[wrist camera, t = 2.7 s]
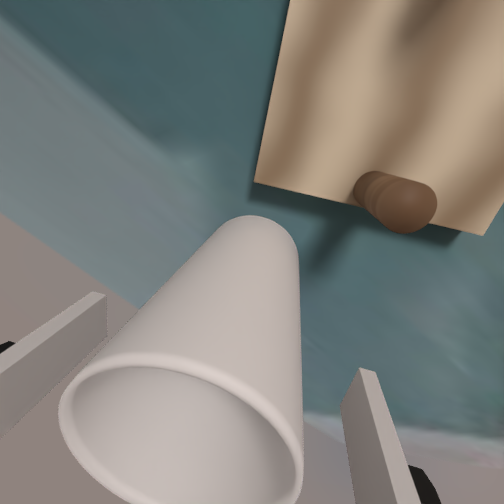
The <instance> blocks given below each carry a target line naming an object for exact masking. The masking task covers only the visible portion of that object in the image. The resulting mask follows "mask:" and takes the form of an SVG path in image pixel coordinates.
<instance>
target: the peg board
mask: <svg viewBox="0 0 504 504" xmlns="http://www.w3.org/2000/svg"><path fill="white" fill-rule="evenodd" d="M254 182H256V183H261V184H265V185H269V186H273V187H278V188H282V189H286V190H291V191H295V192H299V193H303V194H308V195H312V196H316V197H320V198H325V199H329V200H333V201H337V202H342V203H346V204H350V205H354V206H359V207H363V208H365V209H366V210H367V211H368V212H369V213H371V214H372V215H373V216H374V217H375V218H376V219H377V220H379V221H380V222H381V223H382V224H383V225H384V226H386V227H387V228H388V229H389V230H391V231H393V232H396V233H411V232H415V231H417V230H419V229H421V228H423V227H424V226H425V225H427V224H428V223H431V224H435V225H440V226H444V227H448V228H452V229H457V230H461V231H465V232H469V233H474V234H478V235H482V236H483V235H484V233H485V232H486V230H487V228H488V227H489V225H490V223H491V222H492V220H493V218H494V217H495V215H496V214H497V212H498V210H499V209H500V207H501V205H502V204H503V202H504V0H290V4H289V9H288V14H287V19H286V24H285V29H284V34H283V39H282V44H281V49H280V54H279V59H278V64H277V69H276V74H275V79H274V84H273V89H272V94H271V99H270V104H269V108H268V113H267V118H266V123H265V128H264V133H263V138H262V143H261V148H260V153H259V158H258V163H257V168H256V173H255V178H254Z"/></svg>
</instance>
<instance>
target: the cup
mask: <svg viewBox="0 0 504 504" xmlns="http://www.w3.org/2000/svg"><path fill="white" fill-rule="evenodd" d="M58 420H59V426H60V430H61V433H62V436H63V438H64V440H65V442H66V444H67V446H68V448H69V450H70V451H71V453H72V454H73V456H74V457H75V458H76V460H77V461H78V462H79V463H80V465H81V466H82V467H83V468H84V469H85V470H86V471H87V472H88V473H89V474H90V475H91V476H92V477H93V478H94V479H95V480H97V481H98V482H99V483H100V484H101V485H103V486H104V487H105V488H106V489H108V490H109V491H111V492H112V493H114V494H115V495H117V496H118V497H120V498H122V499H123V500H125V501H127V502H128V503H130V504H294V503H295V502H296V500H297V498H298V496H299V494H300V491H301V488H302V482H303V470H304V449H303V448H304V447H303V405H302V366H301V329H300V292H299V257H298V251H297V248H296V245H295V243H294V241H293V239H292V237H291V236H290V235H289V233H288V232H287V231H286V230H285V229H284V228H283V227H282V226H280V225H279V224H277V223H276V222H274V221H272V220H270V219H267V218H264V217H261V216H253V215H247V216H240V217H236V218H233V219H231V220H229V221H227V222H225V223H224V224H223V225H221V226H220V227H219V228H218V229H217V230H216V231H215V232H214V233H213V234H212V235H211V236H210V237H209V238H208V239H207V241H206V242H205V243H204V244H203V245H202V246H201V247H200V248H199V249H198V250H197V251H196V252H195V253H194V254H193V255H192V256H191V257H190V258H189V259H188V260H187V261H186V262H185V263H184V264H183V265H182V266H181V267H180V268H179V269H178V270H177V271H176V272H175V273H174V275H173V276H172V277H171V278H170V279H169V280H168V281H167V282H166V283H165V284H164V285H163V286H162V287H161V288H160V289H159V290H158V291H157V292H156V293H155V294H154V295H153V296H152V297H151V298H150V299H149V300H148V301H147V302H146V303H145V304H144V305H143V306H142V307H141V309H140V310H139V311H138V312H137V313H136V314H135V315H134V316H133V317H132V318H131V319H130V320H129V321H128V322H127V323H126V324H125V325H124V326H123V327H122V328H121V329H120V330H119V331H118V332H117V333H116V334H115V335H114V336H113V338H111V340H110V341H109V342H108V343H107V344H106V345H105V346H104V347H103V348H102V349H101V350H100V351H99V352H98V353H97V354H96V355H95V356H94V357H93V358H92V359H91V360H90V361H89V362H88V363H87V364H86V365H85V366H84V368H83V369H82V370H81V371H80V372H79V373H78V374H77V375H76V377H75V378H74V379H73V380H72V382H71V383H70V384H69V385H68V387H67V388H66V389H65V391H64V393H63V395H62V397H61V400H60V403H59V408H58Z"/></svg>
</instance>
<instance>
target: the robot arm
mask: <svg viewBox="0 0 504 504" xmlns="http://www.w3.org/2000/svg"><path fill="white" fill-rule="evenodd" d="M106 337H107V303H106V295H104V294H101V293H98V292H94V291H92V292H91V293H89V294H88V295H87V296H85V297H84V298H82V299H81V300H79V301H78V302H76V303H75V304H73V305H72V306H70V307H69V308H67V309H66V310H64V311H63V312H61V313H60V314H58V315H57V316H56V317H54V318H53V319H51V320H50V321H48V322H47V323H45V324H44V325H42V326H41V327H39V328H38V329H36V330H35V331H33V332H32V333H30V334H29V335H27V336H26V337H24V338H23V339H21V340H20V341H19V342H17V343H14V342H11V341H8V342H6V343H4V344H1V345H0V439H1V438H2V437H3V436H4V435H5V434H6V433H7V432H8V431H9V430H10V429H11V428H12V427H13V426H14V425H16V423H18V422H19V421H20V420H21V419H22V418H23V417H24V416H25V415H26V414H27V413H28V412H29V411H30V410H31V409H32V408H33V407H34V406H35V405H36V404H37V403H38V402H39V401H40V400H42V398H44V397H45V396H46V395H47V394H48V393H49V392H50V391H51V390H52V389H53V388H54V387H55V386H56V385H57V384H58V383H59V382H60V381H61V380H62V379H63V378H64V377H65V376H66V375H67V374H69V373H70V371H72V370H73V369H74V368H75V367H76V366H77V365H78V364H79V363H80V362H81V361H82V360H83V359H84V358H85V357H86V356H87V355H88V354H89V353H90V352H91V351H92V350H93V349H94V348H96V347H97V346H98V345H99V343H101V342H102V341H103V340H104V339H105V338H106ZM340 410H341V416H342V422H343V428H344V435H345V441H346V447H347V453H348V459H349V466H350V472H351V478H352V484H353V490H354V496H355V503H356V504H441V502H440V499H439V497H438V494H437V492H436V489H435V488H434V486H433V485H432V483H431V482H430V480H429V479H428V477H427V476H426V474H425V473H424V471H423V470H422V469H419V468H417V467H413V466H410V465H407V462H406V459H405V456H404V453H403V450H402V447H401V445H400V442H399V439H398V436H397V433H396V430H395V427H394V424H393V422H392V419H391V416H390V413H389V410H388V407H387V404H386V401H385V399H384V396H383V393H382V390H381V387H380V384H379V381H378V378H377V376H376V373H375V372H373V371H370V370H366V369H363V368H359V369H358V371H357V373H356V375H355V377H354V379H353V381H352V383H351V385H350V387H349V389H348V391H347V393H346V395H345V397H344V398H343V400H342V402H341V404H340Z"/></svg>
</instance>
